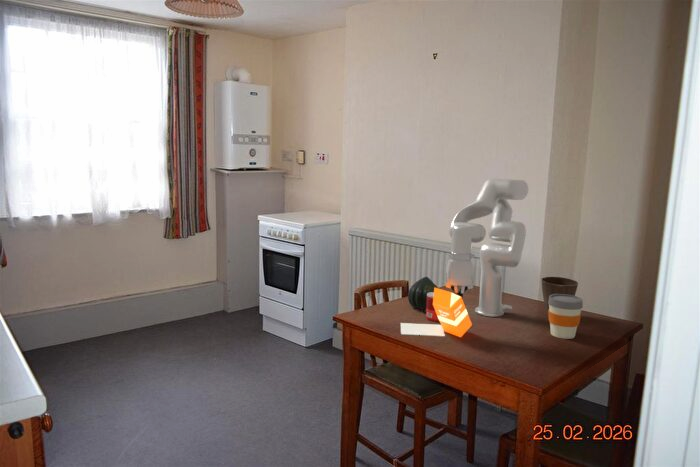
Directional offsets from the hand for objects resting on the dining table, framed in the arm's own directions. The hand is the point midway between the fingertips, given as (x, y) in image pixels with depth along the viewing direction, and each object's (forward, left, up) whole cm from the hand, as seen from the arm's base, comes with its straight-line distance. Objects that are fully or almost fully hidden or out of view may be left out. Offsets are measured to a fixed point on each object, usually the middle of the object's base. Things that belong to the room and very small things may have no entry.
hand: (458, 302), depth 203 cm
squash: (+11, -30, -13) cm, 35 cm away
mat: (+14, -1, -12) cm, 18 cm away
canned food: (+7, -15, -13) cm, 21 cm away
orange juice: (0, 0, -11) cm, 11 cm away
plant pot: (-47, -26, -13) cm, 55 cm away
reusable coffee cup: (-42, -2, -13) cm, 44 cm away
